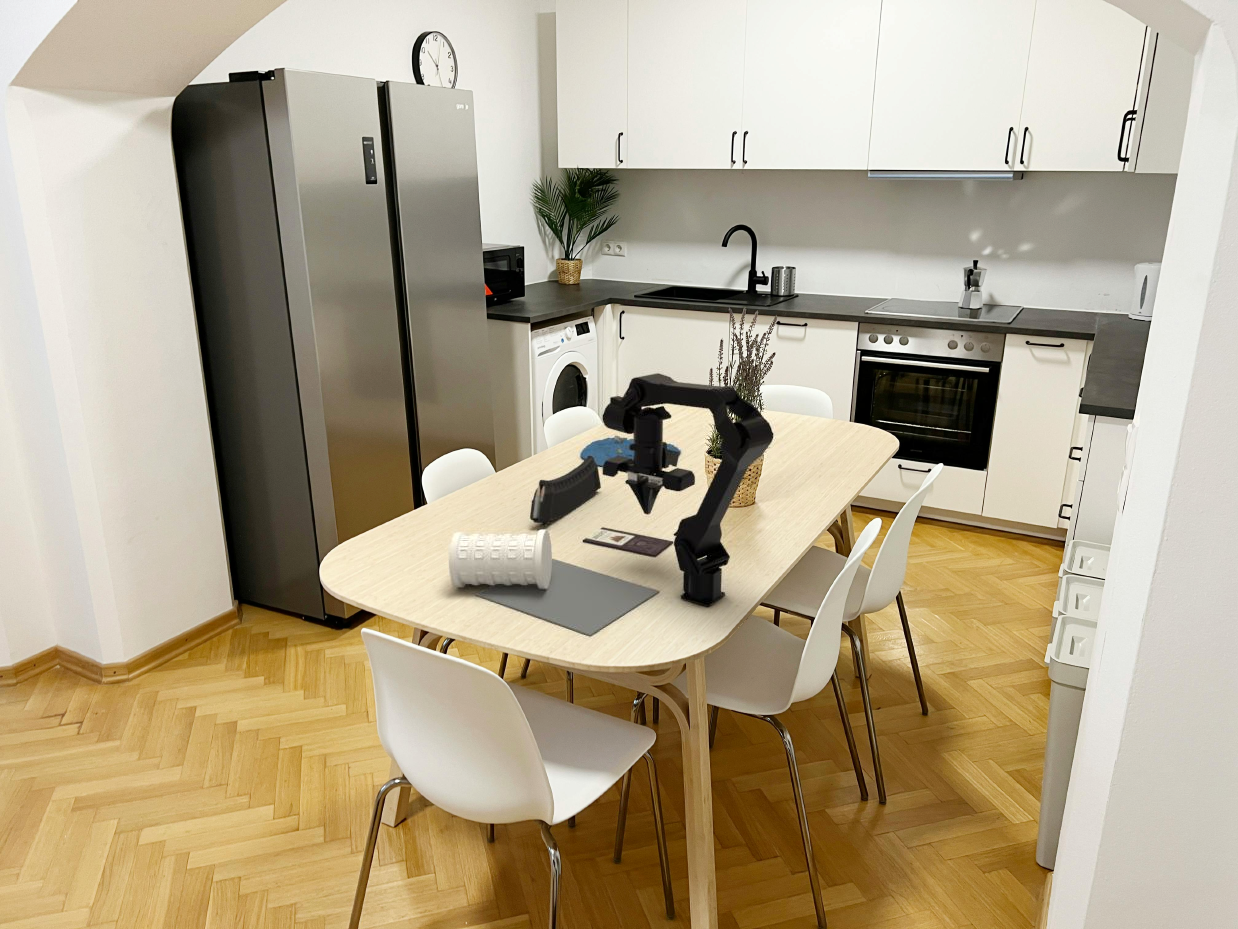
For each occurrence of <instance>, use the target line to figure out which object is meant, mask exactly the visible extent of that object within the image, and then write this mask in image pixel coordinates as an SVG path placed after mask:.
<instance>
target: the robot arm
mask: <svg viewBox="0 0 1238 929" xmlns="http://www.w3.org/2000/svg"><path fill="white" fill-rule="evenodd" d="M628 384H629V385H628V387H627V390H626V391H625V392H624V394H623V396H619V395H616V396H610V398H609V399H610V400H609V401H610V402H609V403H608V404H607V405H606V407H605V408H604V411H603V414H602V417H601V418H602V423H603V425H604V426H605V427H606V428H607V429H609V430H614V431H617V432H619V433H623V434H627V435H633V436H632V437H633V438H632V439H633V444H631V445H630V450H633V459H632V458H627V457H623V456H616V457H614V458H611V459H609V460H606V461H605V462H604V464H603V465H602V471H601V474H602V475H603V476H607V477H611V478H615V477H616V476H617V475H618V474H619V472H621V473H626V474H627V479H626V480H625V484H626V485H628V486H629V487H630V489H631V491H632V492H633V494H634V496H635V498H636V500H637V502H638V503H639V504H638V505H640V508H641V510H642V512H643V514H644V515H650V514H651V512H652V511H653V507H654V505H655V502H656V500H657V497H658V496H659V493H660V491H661V489H662V488H663V487H664V489H665V490H668V491H673V492H682V491H685V490H686V489H688V488H690V487H693V486H695V485H696V476H695V474H694V472H693V470H689V469H684V468H679V467H678V462H679V457H680V454H681V452H678V451H673V450H669V449H667V444H668V443H667V442H666V441H663V438H664V436H663V435H664V421H665V420H669V419H671V418H672V414H671V413H670V412H669V411H668V410H667V409H666V407H665V406H664V405H666V404H667V405H673V406H674V405H676V406H682V407H691V408H699V409H707V410H709V411H710V413H711V414H712V417H713V422H714V427H715V430H716V432H717V433H718V434H719V436H720V437H721V438H722V439H721V443H720V450H721V456H722V459H721V461H720V463H719V466H718V467H717V470H716V472H715V474H714V475H713V477H712V479H711V482H710V485H709V487H708V488H707V491H706V492H705V494H704V497H703V499H702V502H701V503H700V505H699V507H698V510H697V512H696V514H693V515H690V516H688V517H685V518H682V519H681V520H680V521H679V523H678V527H677V530H676V531H675V532H674V533H673V536H674V540H673V546H674V552H675V555H676V559H677V560H676V561H677V564H678V568H679V570H680V571H681V572H683V577H682V578H683V582H682V583H683V584H682V590H683V592H684V593H682V594H681V595H680V599H682V600H685V601H688V602H691V603H694V604H698V605H701V606H703V607H711V606H712V605H714V604H715V603H716V602H718V601H719V600H721V599H722V598H723V596H724V597H725V596H726V592H724V591H722V576H723V575H722V573H723V572H722V571H723V568H722V567H723V566H727V565H728V564H729V560H730V558H731V556H730V555H729V553H728V551H727V549H726V547H725V546H724V544H723V543H722V542H721V539H722V535H723V534H722V526H721V525H722V524H721V523H722V521H723V519H724V517H725V515H726V513H727V511H728V509H729V507H730V505H731V503H732V501H733V498H734V497H735V496H736V495H735V494H736V493H737V491H738V489H739V487H740V485H741V482H742V481H743V479H744V477H745V474H746V473H747V471H748V469H749V467H750V466H751V465H752V464H753V463H755V462H756V461H757V460H758V459H759V458H760V457H762V455H764V453H765V452H766V451H767V449H768V448H770V445H771V444H772V442H773V440H774V432H773V430H772V427H771V424H770V422H768V420H767V419H766V418H764V415H762V414H761V412H760V411H759V410H758V408H757V407H755V406H754V405H753V404H751V403H750V402H749V401H747V400H746V399H744V398H743V397H742V396H741V395H740V394H739V392H738V391H737V390H736V388H734V387H732V386H730V385H723V386H721V385H720V386H719V385H710V384H709V385H708V384H701V383H691V382H680V381H678V380H677V381H676V380H674V379H673V378H672V377H671V376H669V375H666V374H663V373H660V372H659V373H658V372H657V373H653V374H647V375H641V376H636V377H633V378H631V379H630V382H629V383H628ZM659 405H661V406H659ZM652 406H655V407H652ZM656 406H657V407H656ZM728 411H729V412H730V413H732V414H733V415H735V416H736V417H737V418H738V419H740V420H738V421H734V422H733V421H732V419H731V418H730V417H729V413H728ZM666 443H667V444H666ZM679 453H680V454H679ZM670 466H671V467H676V468H673V469H672V470H670V471H667V470H663V469H668V468H669V467H670Z"/></svg>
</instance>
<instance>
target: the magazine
mask: <svg viewBox="0 0 1238 929" xmlns="http://www.w3.org/2000/svg"><path fill="white" fill-rule="evenodd" d="M537 486H538V487H537V488H536V489H535V491H534V494H533V498H532V500H531V506H530V515H529V519H530V520H531V521H533V523H535V524H536V523H537V524H541V525H540V526H541V527H546V526H547V523H549V522H552V521H554V520H556V519H559V518H563V517H565V516H567V515H569V514H570V512H571V513H572V512H573V510H574V511H575V510H576V508H577V509H578V508H579V507H581V506H582V505H583V504H584V503H585V502H587V501H588V500H589V499H590V498H591V497H592V496H593V495H595V493H596V492H597V491H598V490H600V489H601V488H602V485H601V479H600V473H599V467H598V465H597V464H596V462H595V461H594V457H592V456H588V457H587V458H586V459H583V461H582V462H581V463H580V464H579V465H578V466H577V467H575V468H573V469H572V470H571V471H569V472H568V473H565V474H564V475H562V476H559V477H556V478H553V479H550V480H547V479H539V481H538V485H537Z"/></svg>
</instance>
